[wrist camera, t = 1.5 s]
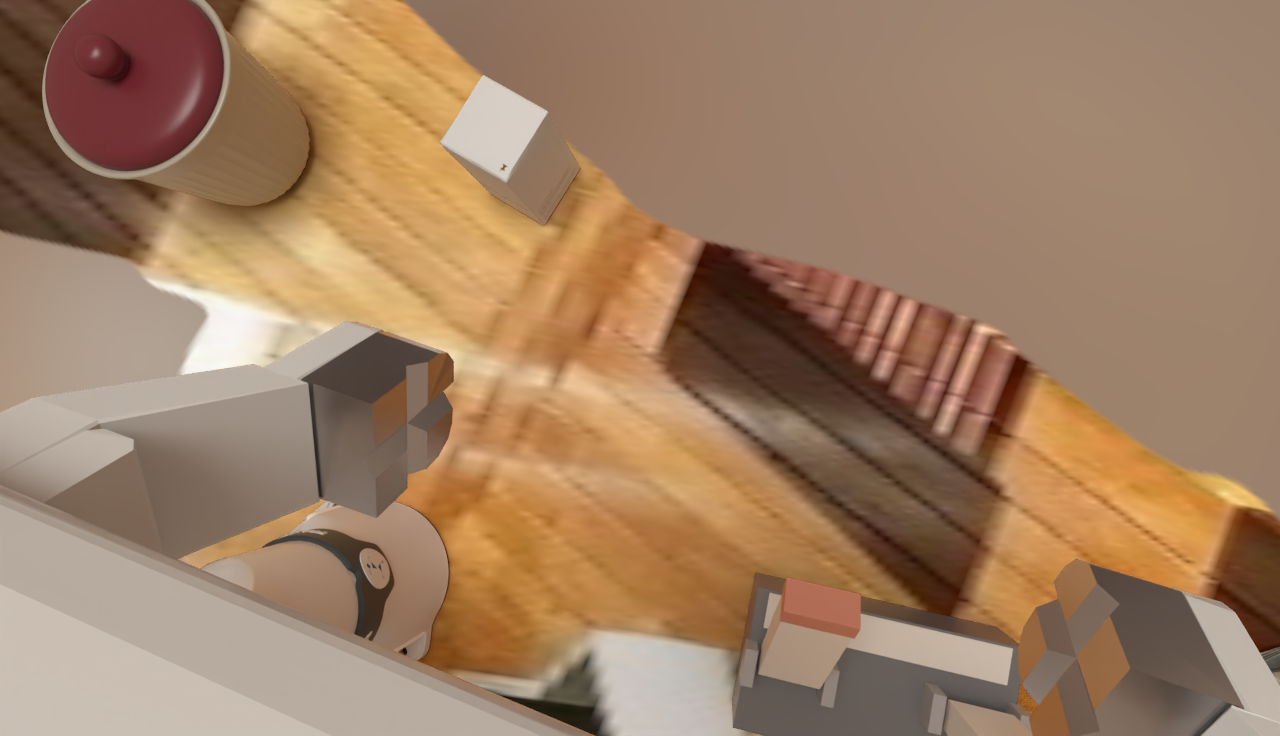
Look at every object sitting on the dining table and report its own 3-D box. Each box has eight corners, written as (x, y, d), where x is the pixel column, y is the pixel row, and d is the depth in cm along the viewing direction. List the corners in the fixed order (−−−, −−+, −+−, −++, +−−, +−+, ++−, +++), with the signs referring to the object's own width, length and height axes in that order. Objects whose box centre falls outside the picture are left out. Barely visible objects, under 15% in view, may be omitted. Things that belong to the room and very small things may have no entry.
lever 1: (816, 698, 56) (860, 629, 46) (753, 682, 56) (783, 611, 46) (817, 666, 57) (860, 594, 47) (756, 652, 58) (786, 577, 48)
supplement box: (582, 167, 70) (551, 111, 57) (544, 227, 70) (504, 185, 57) (525, 133, 71) (482, 71, 58) (487, 192, 71) (436, 143, 58)
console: (978, 761, 60) (1019, 816, 52) (729, 698, 63) (729, 740, 55) (999, 627, 61) (1043, 660, 53) (752, 571, 64) (756, 594, 56)
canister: (197, 75, 76) (-1, -56, 55) (345, 72, 74) (197, -65, 53) (180, 231, 75) (-30, 156, 54) (331, 233, 73) (173, 157, 52)
